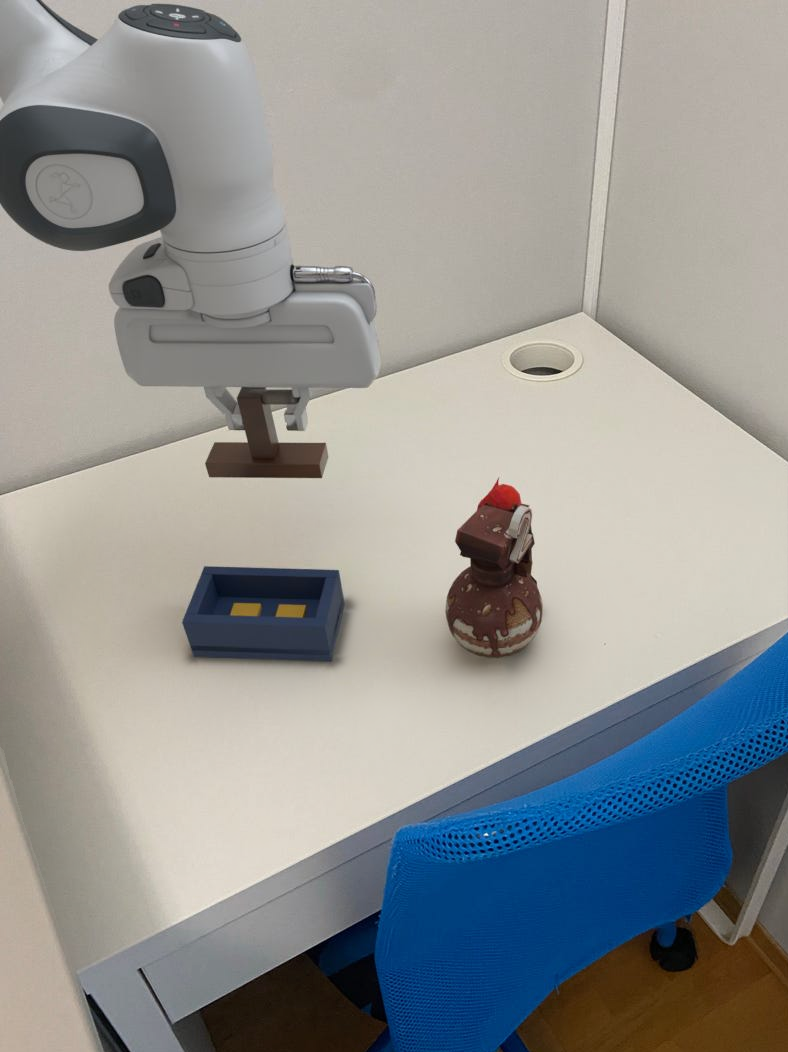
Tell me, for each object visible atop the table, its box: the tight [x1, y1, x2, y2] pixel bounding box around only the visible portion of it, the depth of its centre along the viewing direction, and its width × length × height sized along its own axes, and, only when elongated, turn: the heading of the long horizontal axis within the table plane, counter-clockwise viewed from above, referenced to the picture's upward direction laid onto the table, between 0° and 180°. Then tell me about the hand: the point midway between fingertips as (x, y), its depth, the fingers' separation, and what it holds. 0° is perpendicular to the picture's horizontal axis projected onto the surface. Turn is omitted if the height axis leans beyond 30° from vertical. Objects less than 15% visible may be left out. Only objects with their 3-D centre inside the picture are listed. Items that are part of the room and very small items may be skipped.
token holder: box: [181, 565, 346, 662], centre depth 81 cm, size 12×7×4 cm, turn 86°
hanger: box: [204, 387, 329, 479], centre depth 79 cm, size 10×3×8 cm, turn 86°
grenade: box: [445, 477, 544, 659], centre depth 76 cm, size 9×8×15 cm
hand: (268, 426), depth 79 cm, fingers closed on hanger, 3 cm apart
